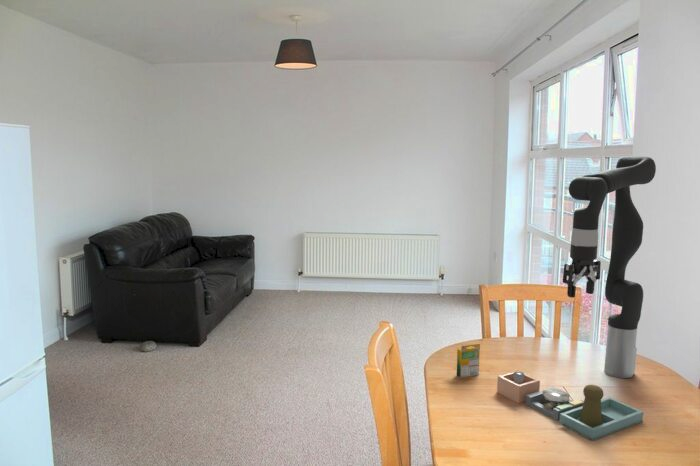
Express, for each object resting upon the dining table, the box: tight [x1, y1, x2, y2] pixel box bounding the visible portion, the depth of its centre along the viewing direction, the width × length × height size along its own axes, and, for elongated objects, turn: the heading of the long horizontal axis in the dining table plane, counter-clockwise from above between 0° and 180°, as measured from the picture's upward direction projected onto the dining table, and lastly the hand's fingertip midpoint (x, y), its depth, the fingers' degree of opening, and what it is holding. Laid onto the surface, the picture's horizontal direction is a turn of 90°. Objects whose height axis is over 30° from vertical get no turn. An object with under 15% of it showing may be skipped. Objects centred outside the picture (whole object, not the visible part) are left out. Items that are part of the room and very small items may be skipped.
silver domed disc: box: [542, 388, 571, 408], centre depth 166 cm, size 8×8×4 cm
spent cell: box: [513, 370, 525, 384], centre depth 175 cm, size 3×3×7 cm
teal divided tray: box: [559, 396, 644, 441], centre depth 159 cm, size 22×11×3 cm, turn 120°
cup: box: [496, 370, 541, 404], centre depth 175 cm, size 9×9×6 cm
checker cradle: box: [525, 386, 584, 422], centre depth 167 cm, size 12×12×4 cm
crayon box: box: [456, 343, 481, 378], centre depth 191 cm, size 7×3×12 cm, turn 108°
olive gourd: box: [580, 384, 605, 428], centre depth 156 cm, size 6×6×11 cm
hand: (580, 295), depth 170 cm, fingers open, 8 cm apart
